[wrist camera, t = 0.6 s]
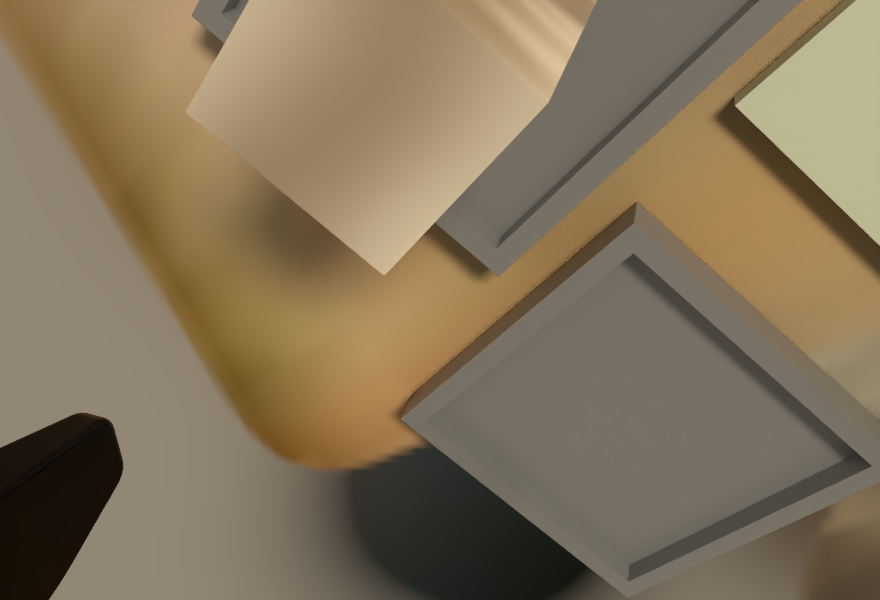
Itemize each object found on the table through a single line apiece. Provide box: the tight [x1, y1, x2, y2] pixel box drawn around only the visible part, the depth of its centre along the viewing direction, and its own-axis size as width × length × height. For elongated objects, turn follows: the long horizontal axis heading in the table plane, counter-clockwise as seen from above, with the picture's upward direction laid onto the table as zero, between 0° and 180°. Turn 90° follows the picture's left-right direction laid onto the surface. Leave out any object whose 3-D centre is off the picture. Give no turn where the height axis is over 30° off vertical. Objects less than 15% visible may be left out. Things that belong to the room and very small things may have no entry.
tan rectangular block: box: [186, 0, 597, 275], centre depth 14 cm, size 4×4×8 cm
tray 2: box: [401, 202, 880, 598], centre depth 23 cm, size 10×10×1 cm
